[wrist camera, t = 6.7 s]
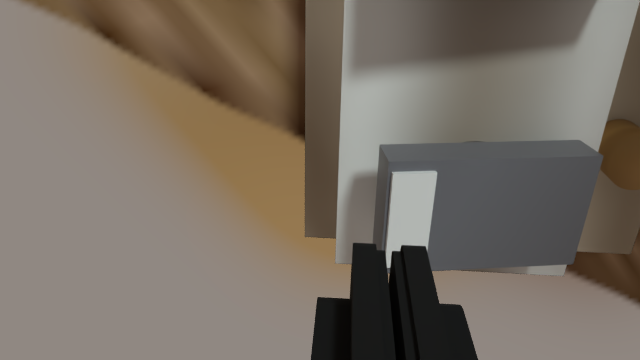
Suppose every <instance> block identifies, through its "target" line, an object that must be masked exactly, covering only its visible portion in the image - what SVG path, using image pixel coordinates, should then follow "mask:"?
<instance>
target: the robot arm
mask: <svg viewBox="0 0 640 360" xmlns="http://www.w3.org/2000/svg"><path fill="white" fill-rule="evenodd" d="M311 360H478V358H477V355H476V351H475V348H474V345H473V341H472V338H471V335H470V331H469V328H468V324H467V321H466V318H465V314H464V311H463V308H462V306H461V305H455V304H439V300H438V296H437V292H436V287H435V283H434V279H433V274H432V270H431V266H430V261H429V257H428V253H427V249H426V246H413V245H401V249H400V251H392V255H391V265H390V276H389V283H388V273H387V263H386V253H385V250H377V247H376V244H371V243H353V248H352V269H351V287H350V299H342V298H321V297H318V299H317V306H316V316H315V325H314V336H313V344H312V354H311Z"/></svg>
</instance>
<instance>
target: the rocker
mask: <svg viewBox="0 0 640 360" xmlns="http://www.w3.org/2000/svg"><path fill="white" fill-rule="evenodd" d="M602 160H603V155H601V154H600V153H598V152H597V151H595V150H594V149H592V148H591V147H589V146H588V145H586V144H585V143H583V142H582V141H580V140H551V141H508V142H483V141H466V142H462V143H422V144H380V146H379V160H378V174H377V187H376V201H375V215H374V229H373V243H372V244H376V247H377V250H385V253H386V263H387V273H390V265H391V255H392V251H400V249H401V245H413V246H426V249H427V253H428V257H429V261H430V266H431V270H432V271H444V270H465V269H485V268H506V267H527V266H548V265H568V264H573V263H574V259H575V255H576V252H577V248H578V245H579V241H580V238H581V234H582V231H583V227H584V224H585V220H586V217H587V213H588V209H589V206H590V202H591V199H592V195H593V192H594V188H595V185H596V181H597V178H598V174H599V171H600V167H601V164H602Z"/></svg>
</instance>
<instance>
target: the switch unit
mask: <svg viewBox="0 0 640 360" xmlns="http://www.w3.org/2000/svg"><path fill="white" fill-rule="evenodd" d="M551 140H580V141H582V142H583V143H585V144H586V145H588V146H589V147H591V148H592V149H594V150H595V151H597V152H598V153H600V154H601V155H603V160H602V164H601V167H600V171H599V174H598V178H597V181H596V185H595V188H594V192H593V195H592V199H591V202H590V206H589V209H588V213H587V217H586V220H585V224H584V227H583V231H582V234H581V238H580V241H579V245H578V248H577V251H578V252H597V253H616V254H631V252H632V249H633V246H634V243H635V240H636V237H637V234H638V231H639V228H640V0H306V29H305V237H318V238H336V257H335V263H339V264H352V248H353V243H371V244H372V243H373V229H374V215H375V201H376V187H377V174H378V160H379V146H380V144H422V143H462V142H466V141H483V142H508V141H551ZM566 266H567V265H548V266H527V267H506V268H485V269H465V270H462V271H481V272H498V273H515V274H532V275H550V276H564V273H565V270H566Z"/></svg>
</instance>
